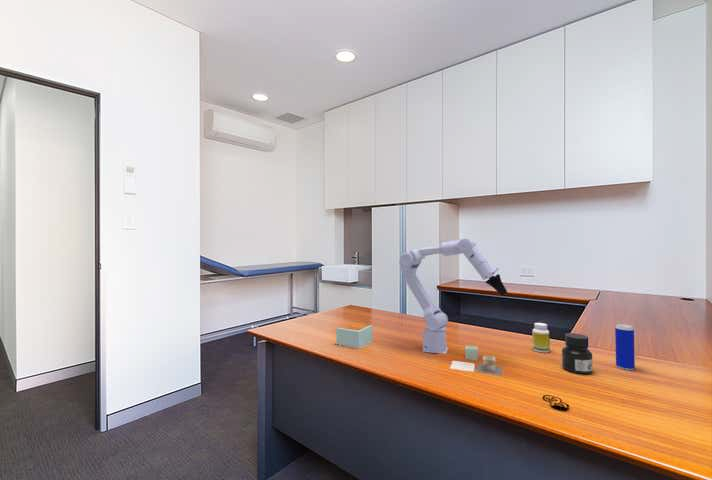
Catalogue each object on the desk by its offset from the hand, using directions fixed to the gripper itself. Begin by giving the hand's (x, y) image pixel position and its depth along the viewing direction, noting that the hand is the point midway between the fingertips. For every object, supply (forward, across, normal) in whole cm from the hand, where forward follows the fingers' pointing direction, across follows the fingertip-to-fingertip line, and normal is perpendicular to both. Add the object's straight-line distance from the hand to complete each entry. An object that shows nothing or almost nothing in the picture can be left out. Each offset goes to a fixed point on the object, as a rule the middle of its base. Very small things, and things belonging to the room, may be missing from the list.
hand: (504, 293), depth 120 cm
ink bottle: (+34, +8, -3) cm, 35 cm away
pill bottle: (+26, +25, +3) cm, 37 cm away
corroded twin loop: (+32, -22, +8) cm, 40 cm away
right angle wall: (-17, +5, +66) cm, 68 cm away
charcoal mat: (+18, -5, +21) cm, 28 cm away
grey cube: (+18, -5, +20) cm, 28 cm away
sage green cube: (+13, +5, +25) cm, 29 cm away
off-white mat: (+13, -5, +28) cm, 31 cm away
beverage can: (+42, +16, -16) cm, 48 cm away
